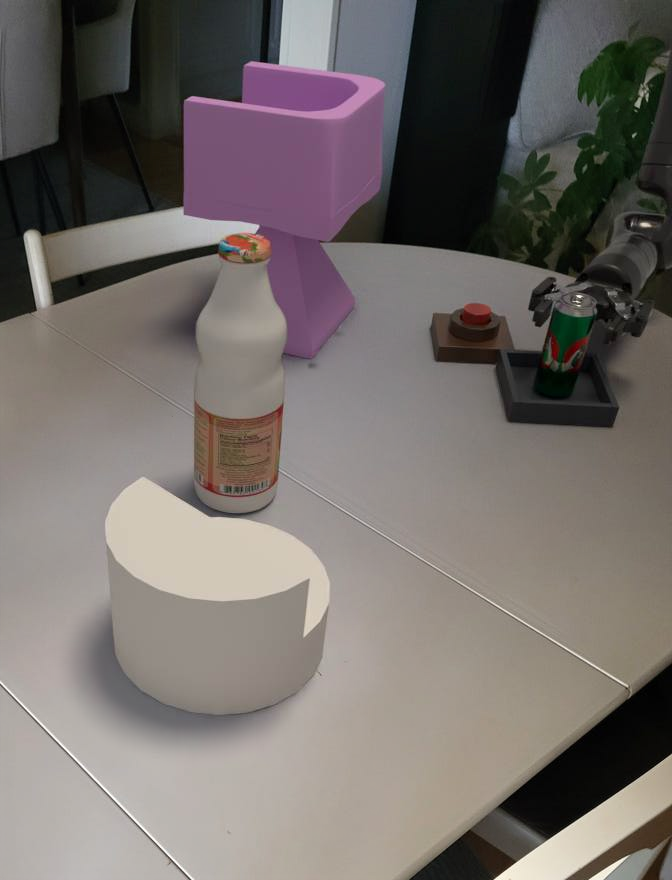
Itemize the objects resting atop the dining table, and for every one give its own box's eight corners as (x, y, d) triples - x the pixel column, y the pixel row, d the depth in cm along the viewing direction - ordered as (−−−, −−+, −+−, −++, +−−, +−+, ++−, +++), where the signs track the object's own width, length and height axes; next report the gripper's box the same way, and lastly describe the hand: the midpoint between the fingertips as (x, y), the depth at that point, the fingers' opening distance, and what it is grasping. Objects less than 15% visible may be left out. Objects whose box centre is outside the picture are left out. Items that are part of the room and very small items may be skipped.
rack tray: (591, 372, 130) (597, 353, 128) (612, 427, 120) (619, 407, 118) (495, 368, 130) (499, 348, 129) (508, 421, 121) (513, 401, 119)
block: (501, 330, 138) (508, 303, 136) (511, 364, 131) (518, 336, 128) (430, 327, 139) (435, 300, 136) (436, 361, 132) (441, 333, 129)
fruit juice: (176, 491, 110) (173, 242, 91) (233, 458, 115) (241, 215, 95) (237, 526, 105) (248, 271, 86) (294, 490, 110) (316, 241, 91)
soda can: (575, 385, 126) (603, 295, 117) (569, 403, 122) (596, 312, 114) (536, 377, 127) (560, 287, 119) (528, 394, 124) (552, 304, 116)
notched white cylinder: (367, 637, 93) (386, 525, 83) (219, 751, 83) (222, 638, 73) (217, 544, 103) (219, 435, 94) (70, 635, 93) (56, 522, 84)
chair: (241, 280, 150) (249, 60, 130) (364, 306, 144) (394, 78, 123) (183, 334, 137) (183, 99, 117) (316, 365, 131) (340, 122, 110)
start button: (486, 315, 134) (489, 303, 133) (490, 327, 131) (492, 315, 130) (460, 314, 134) (462, 302, 133) (462, 326, 131) (465, 314, 130)
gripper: (565, 241, 129) (523, 284, 119) (677, 265, 123) (642, 313, 113) (551, 296, 134) (509, 342, 124) (657, 321, 128) (622, 372, 118)
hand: (573, 328), depth 119 cm, fingers open, 8 cm apart
